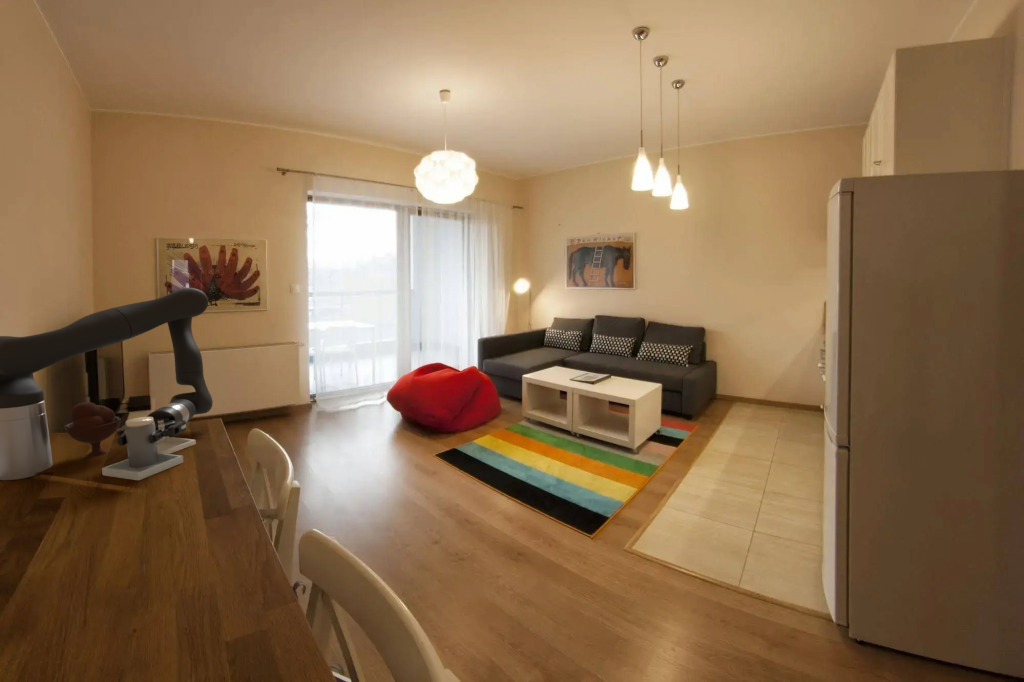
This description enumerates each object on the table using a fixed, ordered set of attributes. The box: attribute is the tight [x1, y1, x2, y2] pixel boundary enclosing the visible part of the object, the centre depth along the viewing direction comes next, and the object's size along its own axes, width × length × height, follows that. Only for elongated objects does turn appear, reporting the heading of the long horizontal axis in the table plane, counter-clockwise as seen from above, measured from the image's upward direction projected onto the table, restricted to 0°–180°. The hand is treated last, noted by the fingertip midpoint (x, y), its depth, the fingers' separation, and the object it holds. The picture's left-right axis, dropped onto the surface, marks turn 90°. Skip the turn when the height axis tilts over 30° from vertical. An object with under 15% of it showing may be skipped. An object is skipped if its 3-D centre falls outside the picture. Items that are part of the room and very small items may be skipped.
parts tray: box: [157, 436, 197, 454], centre depth 124 cm, size 10×10×2 cm
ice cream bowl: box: [63, 401, 122, 458], centre depth 119 cm, size 11×11×15 cm
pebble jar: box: [124, 416, 159, 468], centre depth 110 cm, size 6×6×11 cm
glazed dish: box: [101, 453, 184, 481], centre depth 111 cm, size 11×11×2 cm
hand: (136, 440), depth 107 cm, fingers closed on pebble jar, 5 cm apart
